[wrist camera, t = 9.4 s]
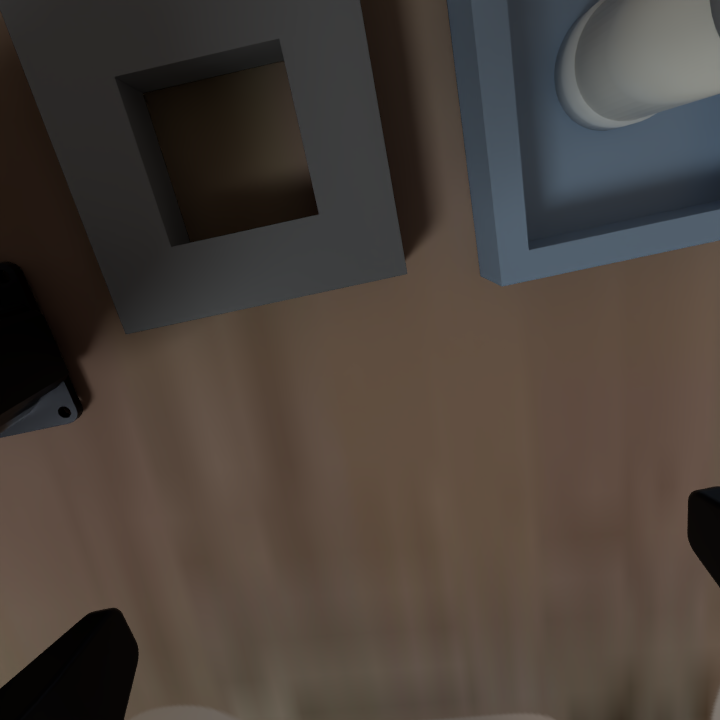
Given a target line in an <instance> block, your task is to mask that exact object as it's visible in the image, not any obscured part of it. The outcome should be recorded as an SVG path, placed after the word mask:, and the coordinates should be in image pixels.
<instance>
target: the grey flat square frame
mask: <svg viewBox="0 0 720 720" xmlns="http://www.w3.org/2000/svg"><path fill="white" fill-rule="evenodd" d="M0 11H1V13H2V16H3V19H4V21H5V24H6V26H7V29H8V31H9V34H10V37H11V39H12V42H13V44H14V47H15V50H16V52H17V55H18V57H19V60H20V62H21V65H22V68H23V70H24V73H25V75H26V78H27V81H28V83H29V86H30V88H31V91H32V93H33V96H34V99H35V101H36V104H37V106H38V109H39V111H40V114H41V117H42V119H43V122H44V124H45V127H46V130H47V132H48V135H49V137H50V140H51V142H52V145H53V148H54V150H55V153H56V155H57V158H58V161H59V163H60V166H61V168H62V171H63V173H64V176H65V179H66V181H67V184H68V186H69V189H70V192H71V194H72V197H73V199H74V202H75V204H76V207H77V210H78V212H79V215H80V217H81V220H82V223H83V225H84V228H85V230H86V233H87V235H88V238H89V241H90V243H91V246H92V248H93V251H94V253H95V256H96V259H97V261H98V264H99V266H100V269H101V272H102V274H103V277H104V279H105V282H106V284H107V287H108V290H109V292H110V295H111V297H112V300H113V303H114V305H115V308H116V310H117V313H118V315H119V318H120V321H121V323H122V326H123V328H124V331H125V334H130V333H134V332H139V331H144V330H148V329H153V328H158V327H162V326H167V325H172V324H176V323H181V322H186V321H190V320H195V319H200V318H204V317H209V316H214V315H218V314H223V313H228V312H232V311H237V310H242V309H246V308H251V307H255V306H260V305H265V304H269V303H274V302H279V301H283V300H288V299H293V298H297V297H302V296H307V295H311V294H316V293H321V292H325V291H330V290H335V289H339V288H344V287H349V286H353V285H358V284H363V283H367V282H372V281H377V280H381V279H386V278H391V277H395V276H400V275H404V274H407V269H406V263H405V258H404V252H403V246H402V240H401V235H400V229H399V223H398V217H397V211H396V206H395V200H394V194H393V188H392V183H391V177H390V171H389V165H388V160H387V154H386V148H385V142H384V137H383V131H382V125H381V119H380V114H379V108H378V102H377V96H376V91H375V85H374V79H373V73H372V68H371V62H370V56H369V50H368V45H367V39H366V33H365V27H364V22H363V16H362V10H361V4H360V0H0ZM279 61H284V62H285V66H286V71H287V75H288V80H289V84H290V88H291V93H292V97H293V102H294V106H295V111H296V115H297V119H298V124H299V128H300V133H301V137H302V141H303V146H304V150H305V155H306V159H307V164H308V168H309V172H310V177H311V181H312V186H313V190H314V195H315V199H316V203H317V208H318V212H319V215H314V216H310V217H305V218H301V219H296V220H292V221H287V222H282V223H278V224H273V225H269V226H264V227H260V228H255V229H251V230H246V231H242V232H237V233H232V234H228V235H223V236H219V237H214V238H210V239H205V240H201V241H196V242H192V243H190V240H189V237H188V234H187V231H186V228H185V225H184V221H183V218H182V215H181V212H180V209H179V206H178V203H177V199H176V196H175V193H174V190H173V187H172V184H171V181H170V177H169V174H168V171H167V168H166V165H165V162H164V159H163V156H162V152H161V149H160V146H159V143H158V140H157V137H156V134H155V130H154V127H153V124H152V121H151V118H150V115H149V112H148V108H147V105H146V102H145V99H144V96H143V93H145V92H150V91H154V90H158V89H163V88H167V87H171V86H176V85H180V84H184V83H189V82H193V81H197V80H202V79H206V78H210V77H215V76H219V75H223V74H228V73H232V72H236V71H241V70H245V69H249V68H253V67H258V66H262V65H266V64H271V63H275V62H279Z"/></svg>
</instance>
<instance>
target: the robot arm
mask: <svg viewBox="0 0 720 720" xmlns="http://www.w3.org/2000/svg"><path fill="white" fill-rule="evenodd" d="M3 271H6V272H7V273H8V274H9V277H10V280H9V281H7V280H6V279H5V278H4V277H3ZM64 406H65V407H67V408H69V409H70V411H71V414H69V413H67V412H66V411H65V410H64ZM82 412H83V408H82V405H81V402H80V400H79V398H78V396H77V393H76V391H75V389H74V387H73V384H72V382H71V380H70V377H69V375H68V369H67V367H66V365H65V363H64V360H63V358H62V356H61V354H60V351H59V349H58V347H57V345H56V342H55V340H54V338H53V335H52V333H51V331H50V329H49V326H48V324H47V322H46V320H45V317H44V315H43V314H41V312H40V310H39V307H38V305H37V303H36V301H35V298H34V296H33V294H32V292H31V289H30V287H29V285H28V283H27V280H26V278H25V276H24V274H23V272H22V270H21V269H20V267H19V266H17V265H16V264H14V263H12V262H0V438H1V437H6V436H11V435H16V434H21V433H25V432H30V431H35V430H40V429H44V428H49V427H54V426H59V425H64V424H68V423H71V422H74V421H75V420H76V419H77V418H79V417H80V416H81V415H82ZM687 534H688V540H689V543H690V545H691V547H692V549H693V551H694V552H695V554H696V555H697V557H698V558H699V560H700V561H701V562H702V564H703V565H704V566H705V568H706V569H707V571H708V572H709V573H710V575H711V576H712V577H713V579H714V580H715V582H716V583H717V584H718V586H719V587H720V486H717V487H710V488H705V489H700V490H696V491H693V492H692V493H691V494H690V496H689V498H688V529H687ZM138 656H139V652H138V645H137V642H136V640H135V638H134V636H133V634H132V632H131V630H130V628H129V626H128V624H127V622H126V620H125V618H124V616H123V614H122V612H121V611H120V610H118V609H117V608H108V609H103V610H98V611H94V612H91V613H89V614H87V615H86V616H85V617H83V618H82V619H81V620H80V621H79V622H78V623H76V624H75V625H74V626H73V627H72V628H71V629H69V630H68V631H67V632H66V633H65V634H64V635H62V636H61V637H60V638H59V639H58V640H57V641H55V642H54V643H53V644H52V645H51V646H50V647H48V648H47V649H46V650H45V651H44V652H43V653H41V654H40V655H39V656H38V657H37V658H36V659H34V660H33V661H32V662H31V663H30V664H29V665H27V666H26V667H25V668H24V669H23V670H22V671H20V672H19V673H18V674H17V675H16V676H15V677H13V678H12V679H11V680H10V681H9V682H8V683H6V684H5V685H4V686H3V687H2V688H1V689H0V720H124V717H125V713H126V709H127V704H128V700H129V696H130V692H131V688H132V684H133V680H134V676H135V672H136V668H137V663H138Z"/></svg>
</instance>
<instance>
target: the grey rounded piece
mask: <svg viewBox="0 0 720 720" xmlns="http://www.w3.org/2000/svg"><path fill="white" fill-rule="evenodd" d="M554 82H555V90H556V94H557V97H558V100H559V102H560V104H561V106H562V108H563V110H564V111H565V113H566V114H567V115H568V116H569V117H570V118H571V119H572V120H573V121H574V122H576V123H577V124H578V125H580V126H582V127H584V128H587V129H590V130H596V131H607V130H613V129H617V128H620V127H624V126H627V125H630V124H634V123H637V122H640V121H643V120H645V119H648V118H650V117H651V116H653V115H655V114H656V113H659V112H662V111H665V110H668V109H672V108H675V107H678V106H681V105H685V104H688V103H691V102H694V101H698V100H701V99H704V98H707V97H711V96H714V95H717V94H720V0H600V1H598V2H597V3H596V4H595V5H594V6H592V7H591V8H590V9H589V10H587V11H586V12H585V13H584V14H583V15H581V16H580V17H579V18H578V19H577V20H576V21H575V22H574V24H573V25H572V26H571V28H570V29H569V30H568V32H567V33H566V35H565V37H564V39H563V41H562V43H561V45H560V48H559V51H558V54H557V57H556V62H555V70H554Z"/></svg>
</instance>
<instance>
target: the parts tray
mask: <svg viewBox="0 0 720 720" xmlns="http://www.w3.org/2000/svg"><path fill="white" fill-rule="evenodd" d="M598 1H600V0H447V6H448V14H449V22H450V30H451V39H452V47H453V55H454V63H455V71H456V79H457V88H458V96H459V104H460V112H461V120H462V128H463V136H464V145H465V153H466V161H467V169H468V177H469V185H470V194H471V202H472V210H473V218H474V226H475V234H476V242H477V251H478V259H479V267H480V275H481V277H484V278H486V279H488V280H490V281H492V282H494V283H496V284H498V285H500V286H506V285H511V284H516V283H520V282H525V281H530V280H535V279H539V278H544V277H549V276H553V275H558V274H563V273H567V272H572V271H577V270H582V269H586V268H591V267H596V266H600V265H605V264H610V263H615V262H619V261H624V260H629V259H633V258H638V257H643V256H647V255H652V254H657V253H662V252H666V251H671V250H676V249H680V248H685V247H690V246H695V245H699V244H704V243H709V242H713V241H718V240H720V94H717V95H714V96H711V97H707V98H704V99H701V100H698V101H694V102H691V103H688V104H685V105H681V106H678V107H675V108H672V109H668V110H665V111H662V112H659V113H656V114H655V115H653V116H651V117H650V118H648V119H645V120H643V121H640V122H637V123H634V124H630V125H627V126H624V127H620V128H617V129H613V130H607V131H596V130H590V129H587V128H584V127H582V126H580V125H578V124H577V123H576V122H574V121H573V120H572V119H571V118H570V117H569V116H568V115H567V114H566V113H565V111H564V110H563V108H562V106H561V104H560V102H559V100H558V97H557V94H556V90H555V82H554V70H555V62H556V57H557V54H558V51H559V48H560V45H561V43H562V41H563V39H564V37H565V35H566V33H567V32H568V30H569V29H570V28H571V26H572V25H573V24H574V22H575V21H576V20H577V19H578V18H579V17H580V16H581V15H583V14H584V13H585V12H586V11H587V10H589V9H590V8H591V7H592V6H594V5H595V4H596V3H597V2H598Z"/></svg>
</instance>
